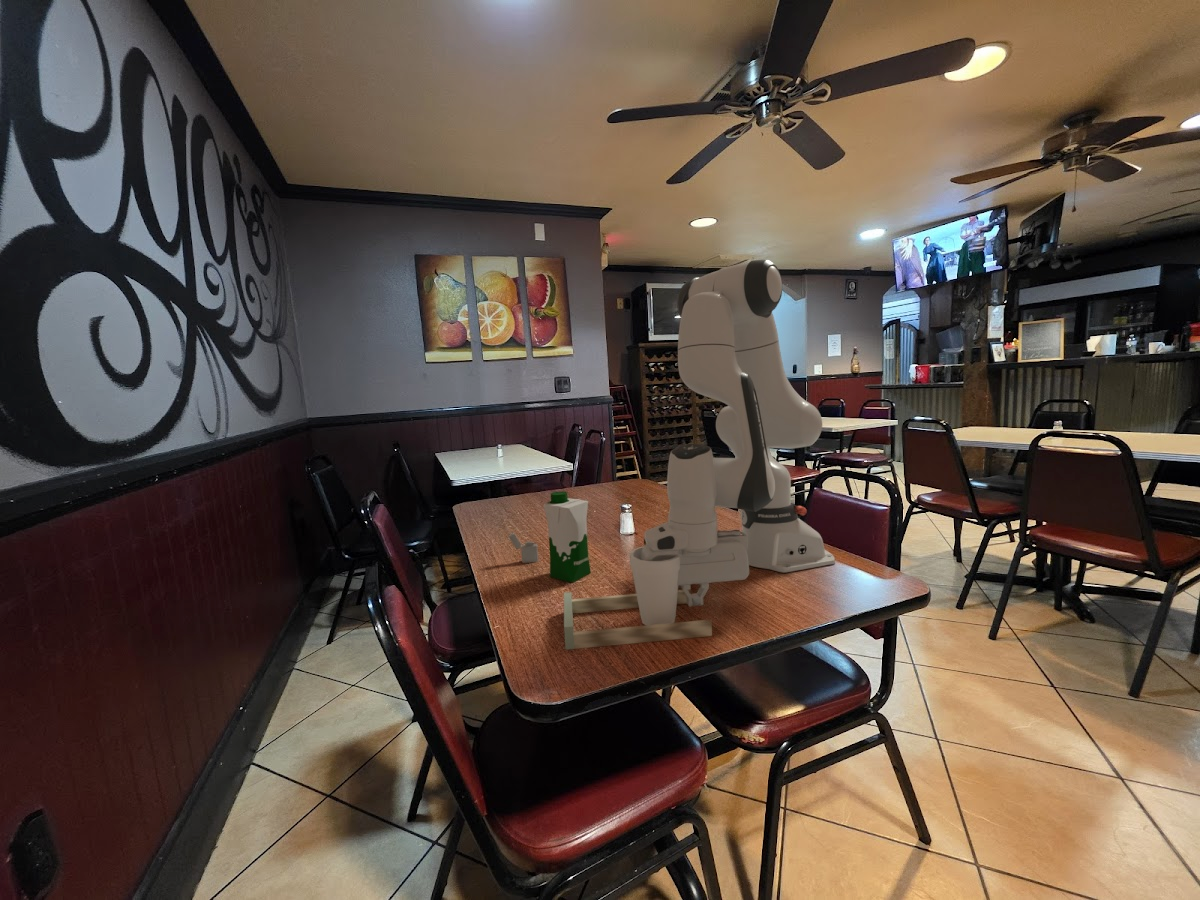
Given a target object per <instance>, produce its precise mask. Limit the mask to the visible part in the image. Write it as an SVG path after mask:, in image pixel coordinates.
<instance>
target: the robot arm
mask: <svg viewBox="0 0 1200 900" xmlns="http://www.w3.org/2000/svg"><path fill="white" fill-rule="evenodd" d="M782 280H783V279H782V276H781V273H780V270H779V268H778V267H777V265H776V264H775V263H774V262H772V261H771V260H769V259H756V260H751V261H749V262H746V263H739V264H738V263H737V264H734V265H730V266H726V267H722V268H720V269H719V270H716V271H713V272H710V273H707V274H704V275H702V276H700V277H693V278H692V279H690V280H688V281H687V282H685V283H684V284H682V286H681V288H680V290H679V292H678V294H677V298H676V308H677V312H678V315H679V318H680V321H679V328H678V330H679V331H678V341H677V367H678V374H679V377H680V379H681V380H682V382H683V384H684V385H685V386H686V387H687V388H689V389H690V390H691V391H693V392H695V393H696V394H698V395H702V396H704V397H707V398H709V399H713V400H715V401H718V402H721V403H723V404H725V405H727V406H724V407H723V408H722V409H720V411H719V413H718V414H717V417H716V420H715V430H716V433H717V435H718V437H719V439H720V440H721V441H722V442H723V443H724V444H725V445H727V447H728V448H729V449H730V450H731V452H732V453H733V455H734V456H735V457H715V456H714V454H713V451H712V448H711V447H710V446H708V445H705V444H702V443H689V444H687V443H686V444H683V445H678V446H676V447H674V448H673V449H672V450H671V451H670V452H669V456H668V457H669V458H668V465H667V467H668V468H667V478H666V481H667V483H666V485H667V486H666V487H667V488H666V490H667V498H668V501H669V511H668V517H667V520H668V521H666V522H663V523H661V524H659V525H656V526H654V527H651V528H649V529H647V530H645V531H644V539H645V541H646V545H644V544H643V546H644V547H643V546H642V547H643V548H642V551H641V557H640V560H645V561H664V560H669V559H672V558H674V557H676V556H679V557H680V569H679V572H678V581H677V586H678V585H680V586H681V587H682V588H681V590H684V592H685V593H686V595H687V603H686V604H687V605H688V607H695V606H696V607H697V606H704V597H705V595H706V594H707V592H708V590H709V589H710V583H711V584H712V583H719V582H720V583H721V582H732V581H744V580H746V579H747V578H748V576H749V575H750V566H751V567H755V568H760V569H765V570H766V569H767V570H772V571H775V572H779V573H790V572H795V571H801V570H806V569H807V570H808V569H812V568H813V569H814V568H819V567H824V566H830V565H834V564H836V559H835V556H834V555H833V554H832V553H831V552H829V551H828V550H826V549H825V545H824V540H823V538H822V536H821V534H820V533H819V532H818V531H817V530H815V529H814V528H812V526H810V525H808V523H806V522H805V521H803V519H800V518H799V516H798V515H800V516H805V515H806V514H807V511H808V510H807V509H806V507H804V506H802V505H795V504H794V503H792V501H791V500H792V499H791V498H792V496H791V493H792V491H791V485H792V484H791V483H792V481H791V480H792V479H791V474H790V472H789V470H788V468H787V467H786V466H785V465H783V464H782V463H780V462H778V461H777V460H776V459H775V458H774V455H772V453H771V450H770V448H771V449H787V450H790V449H791V450H793V449H799V448H800V449H801V448H806V447H811V446H813V444H815V442H817V440H818V439H819V438H820V436H821V433H822V432H823V431H822V430H823V419H822V416H821V413H820V411H819V409H818V408H817V407H816V406H815V405H813V404H811V403H810V402H809V401H807V400H805V399H804V398H803V397H801V396H800V394H799V393H798V392H797V391H796V390H795V389H794V388H793V386H792V385H791V382H790V381H789V379H788V377H787V374H786V372H785V368H784V363H783V358H782V354H781V349H780V348H781V347H780V342H779V334H778V329H777V325H776V320H775V317H774V314H773V311H774V310H775V309H776V308H777V307H778V305H779V303H780V301H781V299H782V295H783V281H782ZM716 507H717V508H732V509H737V510H740V521H741V526H742V530H740V529H732V530H718V514H717V511H716ZM692 585H699V588H698V589H697V592H696V593H691V594H690V593H689V591H688V590H690V591H691V586H692Z"/></svg>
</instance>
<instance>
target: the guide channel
mask: <svg viewBox="0 0 1200 900" xmlns="http://www.w3.org/2000/svg"><path fill="white" fill-rule="evenodd" d="M688 591H689V593H690V594H692V591H691V589H690V590H688ZM683 604H687V595H686V593H685V592H684V590H683V589H678V596H677V605H683ZM637 608H638V609H639V605H638V600H637V594H636V593H628V594H619V595H606V596H595V597H583V598H582V597H581V598H574V599H573V598H572V611H573V614H582V613H593V612H603V611H604V612H605V611H615V610H626V609H637ZM712 624H713V623H712V621H711V619H701V620H692V621H689V620H688V621H679V622H674V623H667V624H656V625H637V626H624V627H614V628H603V629H593V630H583V631H582V630H581V631H574V632H573V634H574V649H573V650H576V649H587V648H597V647H598V648H599V647H608V646H610V647H611V646H619V645H629V644H630V645H631V644H640V643H651V642H662V641H670V640H674V641H675V640H683V639H692V638H693V639H694V638H703V637H704V638H705V637H712V636H713V625H712Z"/></svg>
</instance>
